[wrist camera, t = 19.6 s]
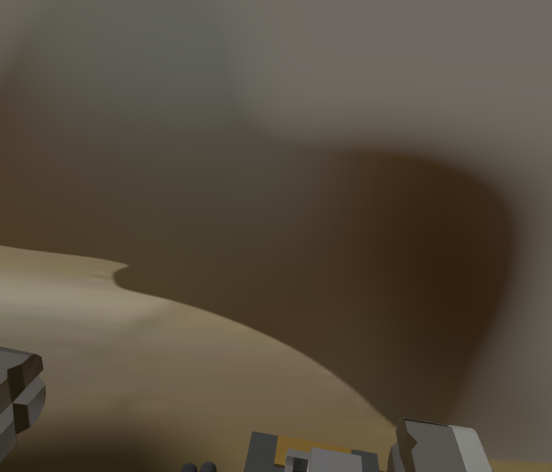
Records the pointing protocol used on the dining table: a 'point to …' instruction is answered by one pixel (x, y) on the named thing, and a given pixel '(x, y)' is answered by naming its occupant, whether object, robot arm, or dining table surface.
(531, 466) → the dining table surface
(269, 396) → the dining table surface
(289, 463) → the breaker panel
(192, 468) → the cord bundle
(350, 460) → the knob
